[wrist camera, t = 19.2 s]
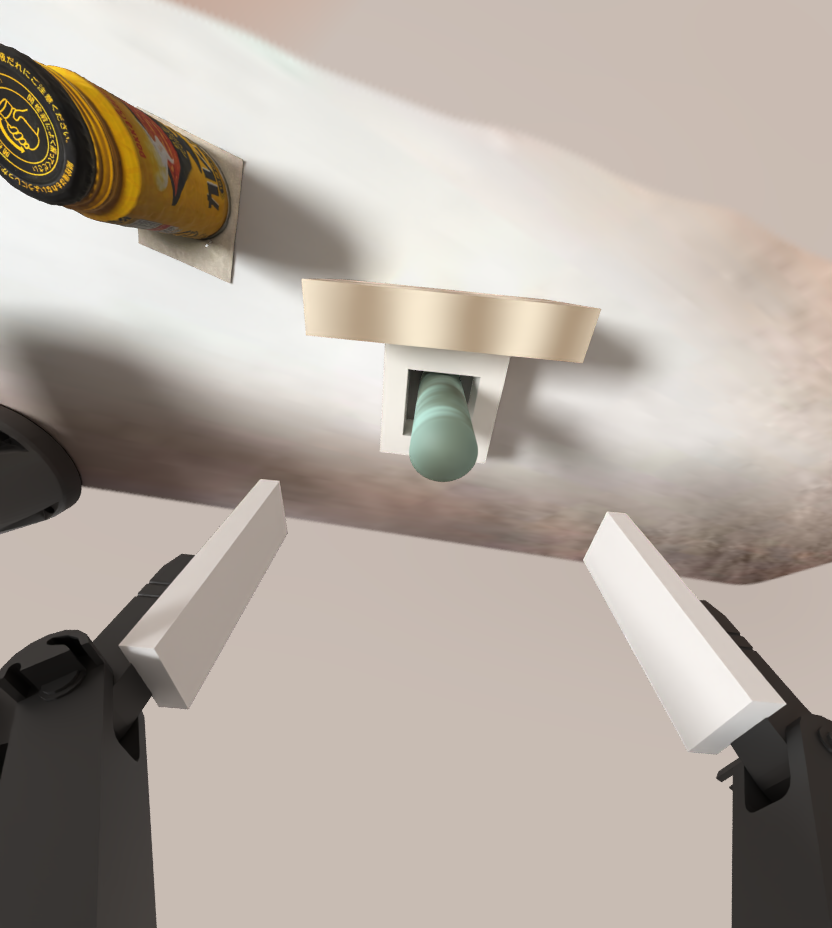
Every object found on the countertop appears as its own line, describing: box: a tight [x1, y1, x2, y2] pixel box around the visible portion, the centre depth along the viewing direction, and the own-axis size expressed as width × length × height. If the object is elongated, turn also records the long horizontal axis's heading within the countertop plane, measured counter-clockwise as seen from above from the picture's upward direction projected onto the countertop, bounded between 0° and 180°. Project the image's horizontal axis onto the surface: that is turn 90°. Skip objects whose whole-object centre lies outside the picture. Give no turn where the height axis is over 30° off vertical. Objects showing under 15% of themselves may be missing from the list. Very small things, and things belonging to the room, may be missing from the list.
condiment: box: [0, 44, 243, 283], centre depth 20 cm, size 7×8×12 cm
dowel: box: [409, 371, 478, 482], centre depth 25 cm, size 4×4×14 cm
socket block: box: [380, 343, 511, 464], centre depth 29 cm, size 10×10×4 cm
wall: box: [302, 279, 601, 363], centre depth 23 cm, size 17×3×10 cm, turn 85°
